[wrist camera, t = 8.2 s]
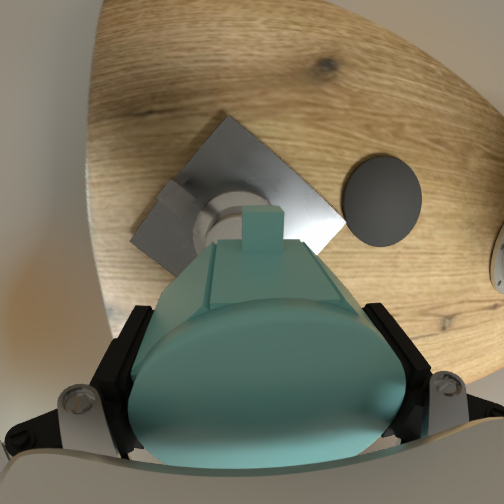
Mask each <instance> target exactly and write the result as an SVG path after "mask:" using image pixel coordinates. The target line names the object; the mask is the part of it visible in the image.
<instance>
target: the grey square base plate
mask: <svg viewBox="0 0 504 504" xmlns="http://www.w3.org/2000/svg"><path fill="white" fill-rule="evenodd" d="M156 199H157V200H159V201H158V202H157V203H156V205H155V206H154V207H153V209H152V210H151V211H150V213H149V214H148V216H147V217H146V218H145V220H144V221H143V223H142V224H141V225H140V227H139V228H138V230H137V231H136V233H135V234H134V236H133V237H132V239H131V240H130V242H131V243H133V244H134V245H135V246H136V247H138V248H139V249H140V250H141V251H143V252H144V253H145V254H147V255H148V256H149V257H151V258H152V259H153V260H155V261H156V262H157V263H158V264H160V265H161V266H162V267H164V268H165V269H166V270H168V271H169V272H171V273H172V274H173V275H175V276H176V277H178V276H179V275H180V274H181V273H182V272H183V271H184V270H185V269H186V268H187V266H188V265H189V264H190V263H191V262H192V261H193V260H194V259H195V258H196V257H197V256H198V255H199V254H200V253H201V252H202V251H203V250H204V249H205V248H207V247H208V246H209V245H210V244H211V243H212V242H214V243H215V244H217V239H241V238H242V205H270V206H280V207H281V209H282V210H283V211H284V212H285V214H284V234H283V239H300V241H301V242H303V241H304V242H305V243H306V244H307V245H308V246H309V247H310V248H311V249H312V250H313V252H314V253H315V254H316V255H317V254H318V253H319V252H320V251H321V250H322V249H323V247H324V246H325V245H326V244H327V243H328V242H329V241H330V240H331V239H332V238H333V237H334V236H335V235H336V233H337V232H338V231H339V230H340V229H341V228H342V227H343V226H344V225H345V224H346V223H347V222H346V221H345V220H344V219H343V218H342V217H341V216H340V215H339V214H338V213H337V212H336V211H335V210H334V209H333V208H332V207H331V206H330V205H329V204H328V203H327V202H326V201H325V200H324V199H323V198H322V197H321V196H320V195H319V194H318V193H317V192H316V191H314V190H313V189H312V188H311V187H310V186H309V185H308V184H307V183H306V182H305V181H304V180H303V179H302V178H301V177H300V176H299V175H297V174H296V173H295V172H294V171H293V170H292V169H291V168H290V167H289V166H288V165H287V164H285V163H284V162H283V161H282V160H281V159H280V158H279V157H278V156H277V155H275V154H274V153H273V152H272V151H271V150H270V149H269V148H267V147H266V146H265V145H264V144H263V143H262V142H260V141H259V140H258V139H257V138H256V137H255V136H253V135H252V134H251V133H250V132H249V131H247V130H246V129H245V128H244V127H243V126H241V125H240V124H239V123H238V122H237V121H235V120H234V119H233V118H232V117H230V116H229V115H228V116H227V118H226V119H225V120H224V121H223V122H222V123H221V124H220V125H219V127H218V128H217V129H216V130H215V131H214V132H213V133H212V134H211V136H210V137H209V138H208V139H207V140H206V141H205V143H204V144H203V145H202V146H201V147H200V149H199V150H198V151H197V152H196V153H195V155H194V156H193V157H192V158H191V159H190V161H189V162H188V163H187V164H186V166H185V167H184V168H183V169H182V171H181V172H180V173H179V174H178V175H176V176H174V177H172V178H171V179H170V180H169V181H168V182H167V184H166V185H165V186H164V188H163V189H162V190H161V192H160V193H159V194H158V196H157V197H156Z"/></svg>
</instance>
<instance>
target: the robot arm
mask: <svg viewBox="0 0 504 504" xmlns="http://www.w3.org/2000/svg"><path fill="white" fill-rule="evenodd" d="M490 275H491V281H492V285H493V287H494V288H495V289H496V290H497V291H498V292H500V293H502V294H504V225H503V226H502V228H501V230H500V232H499V235H498V237H497V240H496V243H495V246H494V250H493V254H492V259H491V272H490ZM362 309H363V310H364V312H365V313H366V315H367V316H368V317H369V319H370V320H371V321H372V323H373V324H374V326H375V327H376V328H377V329H378V330H379V331H380V333H381V334H382V336H383V337H384V338H385V340H386V341H387V343H388V344H389V345H390V347H391V348H392V350H393V351H394V353H395V354H396V356H397V357H398V359H399V360H400V361H401V364H402V366H403V369H404V372H405V379H406V388H405V395H404V398H403V402H402V405H401V407H400V409H399V411H398V413H397V415H396V417H395V418H394V420H393V421H392V423H391V424H390V425H389V427H388V428H387V429H386V430H385V431H384V433H383V434H382V435H381V436H382V438H384V437H387V436H391V435H395V436H396V437H397V442H396V446H394V447H391V448H387V449H383V450H379V451H375V452H372V453H367V454H363V455H358V456H353V457H348V458H343V459H338V460H332V461H326V462H319V463H312V464H304V465H295V466H285V467H271V468H249V469H216V468H195V467H181V466H171V465H162V464H154V463H146V462H140V461H133V460H132V459H131V456H130V454H129V452H132V451H133V450H134V448H140V449H144V446H143V445H142V444H141V443H140V442H139V440H138V439H137V437H136V436H135V434H134V432H133V430H132V428H131V425H130V422H129V417H128V402H129V397H130V394H131V391H132V388H133V385H134V383H133V380H132V377H131V371H132V367H133V365H134V362H135V359H136V356H137V354H138V351H139V348H140V346H141V343H142V340H143V338H144V335H145V333H146V330H147V328H148V325H149V323H150V320H151V318H152V315H153V313H154V310H152V308H151V306H139V305H136V306H135V307H134V309H133V311H132V312H131V314H130V316H129V318H128V320H127V321H126V323H125V325H124V327H123V329H122V331H121V332H120V334H119V336H118V338H115V339H113V340H112V342H111V344H110V345H109V347H108V349H107V351H106V353H105V355H104V357H103V359H102V360H101V362H100V364H99V366H98V368H97V370H96V372H95V374H94V376H93V378H92V380H91V382H90V384H89V385H86V384H75V385H72V386H69V387H68V388H66V389H65V390H64V391H63V392H62V393H61V394H60V396H59V398H58V402H57V407H58V408H57V409H55V410H53V411H50V412H48V413H45V414H43V415H40V416H38V417H36V418H33V419H30V420H28V421H25V422H23V423H20V424H17V425H15V426H14V427H12V428H11V429H10V430H9V431H8V432H7V434H6V436H5V442H3V443H2V442H1V441H0V504H504V407H503V406H502V405H499V404H497V403H493V402H491V401H487V400H484V399H481V398H478V397H475V396H472V395H469V394H466V387H465V384H464V382H463V380H462V379H461V378H460V377H459V376H458V375H456V374H454V373H452V372H448V371H439V372H436V373H434V374H432V373H431V371H430V369H431V366H430V365H429V364H428V362H427V361H426V360H425V358H424V357H423V356H422V354H421V353H420V352H419V350H418V349H417V348H416V346H415V345H414V344H413V342H412V341H411V340H410V339H409V337H408V336H407V335H406V333H405V332H404V331H403V330H402V328H401V327H400V326H399V324H398V323H397V322H396V321H395V319H394V318H393V317H392V316H391V314H390V313H389V312H388V311H387V310H386V308H385V307H384V306H383V305H382V304H381V303H368V304H366V305H365V307H363V308H362Z"/></svg>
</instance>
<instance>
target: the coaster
mask: <svg viewBox="0 0 504 504" xmlns="http://www.w3.org/2000/svg"><path fill="white" fill-rule="evenodd" d="M421 204H422V195H421V188H420V184H419V181H418V179H417V177H416V175H415V174H414V172H413V171H412V169H411V168H410V167H409V166H408V165H407V164H405V163H404V162H402V161H400V160H398V159H396V158H392V157H384V156H383V157H375V158H371V159H369V160H367V161H365V162H363V163H362V164H361V165H359V166H358V167H357V168H356V169H355V170H354V172H353V173H352V174H351V176H350V177H349V179H348V181H347V183H346V186H345V189H344V193H343V201H342V206H343V214H344V218H345V221H346V222H347V225H348V227H349V229H350V230H351V232H352V233H353V234H354V235H355V236H356V237H357V238H358V239H360V240H361V241H363V242H364V243H366V244H368V245H371V246H375V247H386V246H390V245H393V244H395V243H397V242H399V241H401V240H402V239H403V238H405V237H406V236H407V235H408V234H409V233H410V231H411V230H412V229H413V227H414V226H415V224H416V222H417V220H418V217H419V214H420V210H421Z"/></svg>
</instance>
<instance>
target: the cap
mask: <svg viewBox="0 0 504 504" xmlns="http://www.w3.org/2000/svg"><path fill="white" fill-rule="evenodd" d="M284 214H285V212H284V211H283V210H282V209H281V207H280V206H270V205H242V238H241V239H217V244H215V243H214V242H212V243H211V244H210V245H209V246H208V247H207V248H205V249H204V250H203V251H202V252H201V253H200V254H199V255H198V256H197V257H196V258H195V259H194V260H193V261H192V262H191V263H190V264H189V265H188V266H187V268H186V269H185V270H184V271H183V272H182V273H181V274H180V275H179V276H178V277H177V278H176V279H175V280H174V281H173V282H172V283H171V284H170V285H169V286H168V287H167V288H166V289H165V290H164V291H163V292H162V293H161V296H160V298H159V300H158V303H157V305H156V308H155V310H154V313H153V315H152V318H151V320H150V323H149V325H148V328H147V330H146V333H145V335H144V338H143V340H142V343H141V346H140V348H139V351H138V354H137V356H136V359H135V362H134V365H133V367H132V371H131V377H132V380H133V383H134V385H133V388H132V391H131V394H130V397H129V402H128V417H129V422H130V425H131V428H132V430H133V432H134V434H135V436H136V437H137V439H138V440H139V442H140V443H141V444H142V445H143V446H144V448H145V449H146V450H148V451H149V452H150V453H151V454H152V455H153V456H154V457H156V458H157V459H159V460H160V461H162V462H163V463H164V464H166V465H171V466H181V467H195V468H216V469H249V468H271V467H285V466H295V465H304V464H312V463H319V462H326V461H332V460H338V459H343V458H348V457H353V456H356V455H357V454H359V453H360V452H362V451H363V450H365V449H366V448H367V447H369V446H370V445H371V444H372V443H373V442H375V441H376V440H377V439H378V438H379V437H380V436H381V435H382V434H383V433H384V431H385V430H386V429H387V428H388V427H389V425H390V424H391V423H392V421H393V420H394V418H395V417H396V415H397V413H398V411H399V409H400V407H401V405H402V402H403V398H404V395H405V388H406V379H405V372H404V369H403V366H402V364H401V361H400V360H399V359H398V357H397V356H396V354H395V353H394V351H393V350H392V348H391V347H390V345H389V344H388V343H387V341H386V340H385V338H384V337H383V336H382V334H381V333H380V331H379V330H378V329H377V328H376V327H375V326H374V324H373V323H372V321H371V320H370V319H369V317H368V316H367V315H366V313H365V312H364V310H363V309H362V308H361V306H360V305H359V304H358V302H357V301H356V300H355V298H354V297H353V296H352V294H351V293H350V292H349V290H348V289H347V288H346V287H345V286H344V285H343V283H342V282H341V281H340V280H339V279H338V278H337V277H336V276H335V275H334V273H333V272H332V271H331V270H330V269H329V268H328V267H327V266H326V265H325V264H324V262H323V261H322V260H321V259H320V258H319V257H318V256H317V255H316V254H315V253H314V252H313V250H312V249H311V248H310V247H309V246H308V245H307V244H306V243H305V242H304V241H303V242H301V241H300V239H283V234H284Z"/></svg>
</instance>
